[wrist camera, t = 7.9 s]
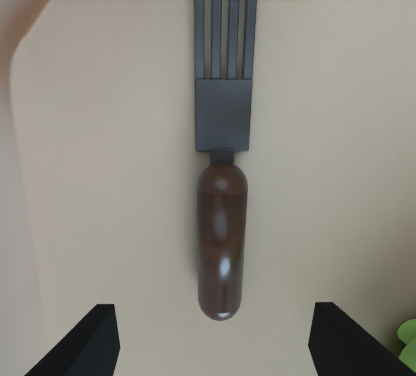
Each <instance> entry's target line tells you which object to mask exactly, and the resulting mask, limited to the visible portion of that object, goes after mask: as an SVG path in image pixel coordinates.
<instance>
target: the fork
mask: <svg viewBox="0 0 416 376" xmlns="http://www.w3.org/2000/svg"><path fill="white" fill-rule="evenodd" d="M256 5H257V0H246V4H245V26H244V48H243V71H242V79H236V72H237V46H238V20H239V0H229V10H228V46H227V79H220V62H221V12H222V0H212V30H211V79H204V0H194V10H195V125H196V151H210V165H209V166H208V167H206V168H205V169H204V170H203V171H202V173H201V175H200V176H199V179H198V183H197V226H198V301H199V305H200V307H201V310H202V311H203V312H204V314H205V315H206V316H208V317H209V318H211V319H213V320H216V321H224V320H227V319H229V318H231V317H232V316H234V314H235V313H236V312H237V311H238V309H239V307H240V303H241V293H242V276H243V259H244V242H245V225H246V209H247V192H248V183H247V180H246V177H245V175H244V173H243V172H242V170H241V169H240V168H239V167H237V166H236V165H234V164H233V158H234V151H248V150H249V133H250V116H251V98H252V81H253V80H252V76H253V58H254V41H255V23H256Z"/></svg>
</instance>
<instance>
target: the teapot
mask: <svg viewBox="0 0 416 376" xmlns="http://www.w3.org/2000/svg"><path fill="white" fill-rule="evenodd" d="M397 335H398V338H399V339H400V340H401V341H403V342H404V343H405V344H407V346H406V347H405V348H404V349H403V351H402V352H401V354H400V356H399V358H398V359H400V360H401V361H402V362H403V363H404V364H406V365H407V366H408V367H409V368H411V369H412V370H413V371H414V372H415V373H416V319H411V320H408V321H406V322H404V323H403V324H402V325H401V326H400V327H399V329H398V331H397Z"/></svg>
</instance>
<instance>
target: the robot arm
mask: <svg viewBox="0 0 416 376" xmlns="http://www.w3.org/2000/svg"><path fill="white" fill-rule="evenodd" d="M308 347H309V350H310V353H311V356H312V359H313V362H314V365H315V368H316V371H317V374H318V376H416V373H415V372H414V371H413V370H412V369H411V368H409V367H408V366H407V365H406V364H404V363H403V362H402V361H401V360H400V359H398V358H397V357H396V356H395V355H394V354H392V353H391V352H390V351H389V350H388V349H386V348H385V347H384V346H383V345H382V344H381V343H379V342H378V341H377V340H376V339H375V338H374V337H372V336H371V335H370V334H369V333H368V332H367V331H365V330H364V329H363V328H362V327H361V326H360V325H359V324H357V323H356V322H355V321H354V320H353V319H352V318H350V317H349V316H348V315H347V314H346V313H345V312H344V311H342V310H341V309H340V308H339V307H338V306H336V305H335V304H334V303H333V302H316V303H315V309H314V314H313V320H312V326H311V331H310V337H309V343H308ZM119 351H120V342H119V335H118V328H117V321H116V314H115V307H114V304H97V305H96V306H95V307H94V308H93V309H92V310H90V311H89V312H88V313H87V314H86V315H85V316H84V317H83V318H82V320H81V321H80V322H79V323H78V324H77V325H76V326H75V327H74V328H73V329H72V330H71V331H70V332H69V333H68V334H67V335H66V336H65V337H64V338H63V339H62V340H61V341H60V342H59V343H58V344H57V345H56V346H55V347H54V348H53V349H51V350H50V351H49V352H48V353H47V354H46V355H45V356H44V357H43V358H42V359H41V360H40V361H39V362H38V363H37V364H36V365H35V366H34V367H33V368H32V369H31V370H30V371H29V372H28V373H27V374H26V375H24V376H113V374H114V370H115V366H116V363H117V359H118V355H119Z"/></svg>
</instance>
